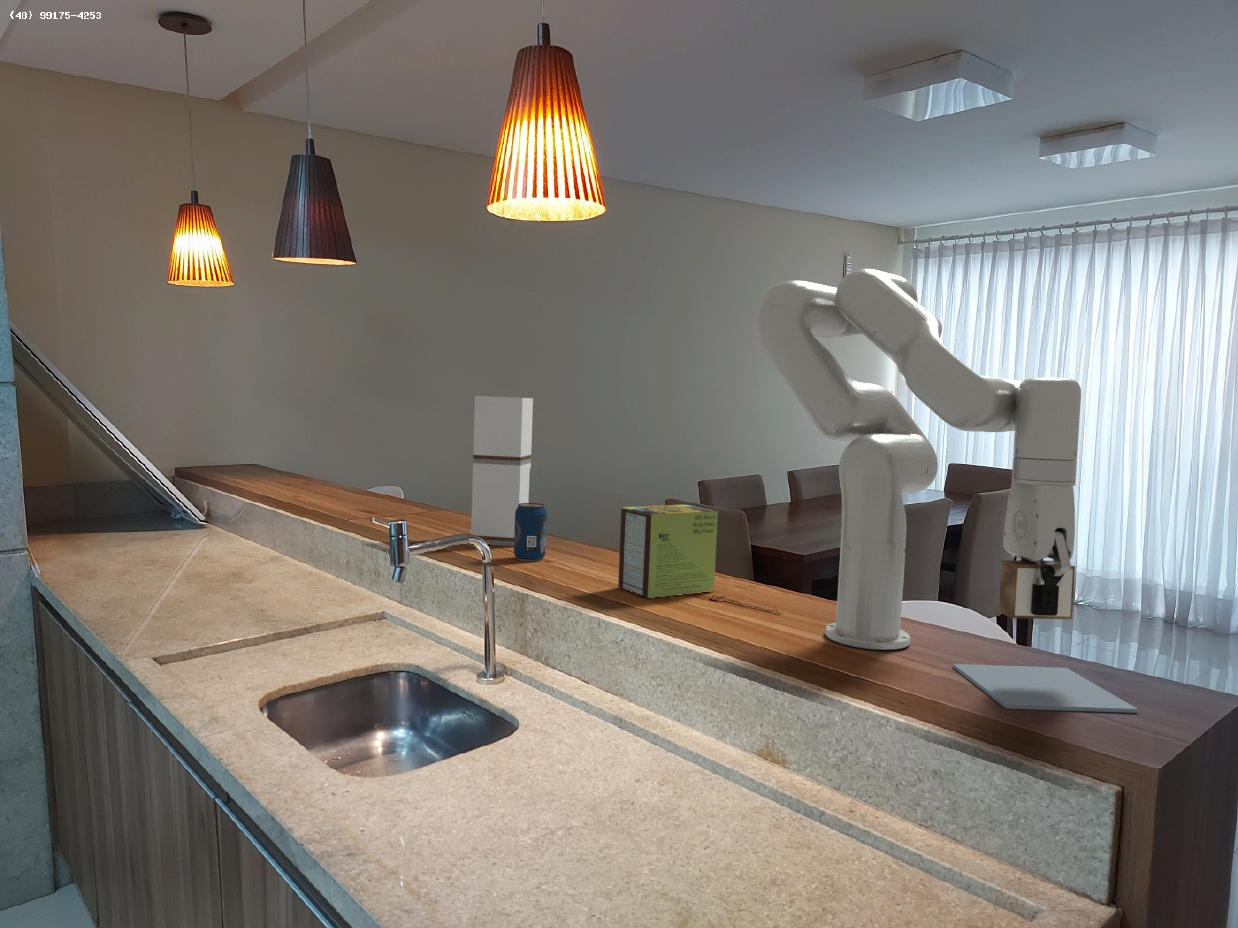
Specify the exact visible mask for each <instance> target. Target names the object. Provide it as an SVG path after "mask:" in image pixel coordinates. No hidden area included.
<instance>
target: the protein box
mask: <svg viewBox="0 0 1238 928" xmlns="http://www.w3.org/2000/svg"><path fill="white" fill-rule="evenodd" d="M620 509H621V510H620V533H619V536H620V537H619V564H618V585H617V586H618V587H617V588H619V587H620V588H619V589H621V588H623V589H627V590H629V591H632V592H634V593H637V594H638V595H637V594H636V595H637V596H639V595H640V596H639V597H643V598H644V597H646V598H645V599H647V598H651V599H656V598H655V597H661V598H667V597H666V596H671V595H678V594H687V593H693V592H694V593H695V592H696V593H697V592H703V591H711V590H714V591H715V578H716V577H715V575H716V555H717V552H716V551H717V536H718V535H717V534H718V515H719V511H718V510H715V509H709V508H703V507H701V506H700V507H698V506H694V505H690V504H667V505H665V504H664V505H661V504H660V505H645V506H644V505H642V506H641V505H640V506H624V507H621V508H620ZM623 589H622V590H623ZM629 591H628V592H629ZM634 593H633V594H634ZM671 597H672V596H671Z"/></svg>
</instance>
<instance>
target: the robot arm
mask: <svg viewBox="0 0 1238 928" xmlns="http://www.w3.org/2000/svg"><path fill="white" fill-rule="evenodd" d="M757 315H758V316H757V331H758V338H759V340H760V344H761V346H762V349H763V351H764V353H765V354H766V356H767V358H768V359H769V361H770V362H771V364H772V366H774V368H775V369H776V371H778V373H779V374H780V375H781V377H782V378H783V380H784V381H785V383H786V384H787V386H788V387H789V388H790V390H791V391H792V394H793V395H794V396H795V398H796V399H797V401H798V402H799V404H800V405H801V407H802V409H803V410H804V411H805V413H806V415H808V417H809V418H810V420H811V421H812V423H813V424H814V425H815V427H816V429H817V430H818V432H819V433H820V434H821V435H822V436H824V437H825V438H828V439H829V440H832V441H841V442H850V443H849V444H847V446H846V447H845V448H844V450H843V451H842V453H841V456H840V459H839V463H838V477H839V486H840V495H841V530H840V549H839V550H840V552H839V553H840V554H839V567H838V569H839V570H838V581H837V582H838V586H837V599H836V616H835V617H836V619H835V621H836V622H832V623H831V622H830V623H829V624H827V625H826V626H825V628H824V629H825V631H824V633H825V636H826V637H827V639H830V640H831V641H833V642H836V643H838V644H841V645H845V646H849V647H853V648H860V649H865V650H877V651H878V650H879V651H886V650H887V651H891V650H899V649H900V650H901V649H904V648H907V647H908V646H910V644H911V635H910V634H909V633H908V632H906V631H905V630H903V629H901V624H902V623H901V621H902V606H903V605H902V604H903V592H904V591H903V590H904V578H905V577H904V576H905V563H906V562H905V560H906V549H907V548H906V546H907V545H906V544H907V541H906V540H907V514H906V509H905V505H904V499H903V495H913V494H916V493H919V492H923V490H924V491H925V490H926V489H927V488H929V487H930V486H931V485H932V483H933V482H934V480H935V478H936V476H937V474H938V466H939V465H938V457H937V453H936V451H935V449H934V446H933V445H932V444H931V442H930V440H929V439H928V438H927V436H926V435H925V434H924V432H923V431H922V430H921V428H920V427H919V425H918V424H917V423H916V421H915V420H914V419H913V418H912V417H911V415H910V413H909V412H908V411H907V410H906V409H905V407H904V406H903V405H902V404H901V402H900V401H899V399H897V397H896V396H895V395H894V394H893V393H892V392H891V391H889V390H888V389H886V388H885V387H883V386H882V385H880V384H879V385H878V384H876V383H871V382H870V383H869V382H860V381H856V380H854V379H853V378H852V377H850V375H848V373H846V371H845V370H844V368H843V367H842V366H841V365H840V364H839V361H837V359H836V357H835V356H834V355H833V354H832V353H831V351H830V350H829V349H828V348H827V347H826V346H824V344H822V342H821V341H820V340H818V339H817V338H816V337H819V338H826V339H827V338H835V339H836V338H845V337H852V336H857V335H863V336H865V338H867V339H868V341H870V342H871V343H873V344H874V345H875V346H876V348H878V349H879V350H880V351H881V352H882V353H883V354H885V355H886V356H887V357H888V358H889V359H890V360H891V361H893V363H894V364H895V365H896V367H897V370H898V372H899V373H898V374H900V376H901V377H902V379H903V382H904V383H905V385H906V387H908V389H909V390H910V391H911V392H912V394H913V395H915V397H916V398H918V400H920V401H921V403H922V404H924V405H925V406H926V407H927V408H929V410H931V411H932V412H933V413H934V414H935V415H936V416H937V417H938V418H940V419H941V420H942V421H943V422H945V423H946V424H948V425H949V426H951V427H952V428H954V429H957V430H960V431H962V432H963V431H964V432H973V433H974V432H975V433H976V432H983V433H1004V432H1005V433H1006V432H1014V434H1013V435H1014V436H1013V438H1014V439H1013V457H1012V470H1011V471H1012V473H1011V485H1010V488H1009V494H1008V497H1007V498H1008V499H1007V503H1006V511H1005V522H1004V529H1003V537H1002V538H1003V540H1002V547H1003V548H1004V550H1005V552H1007V553H1008V554H1010V555H1011V556H1012V558H1013V560H1014V561H1036V583H1037V584H1033V587H1032V603H1031V613H1032V614H1034V615H1043V616H1056V615H1057V612H1058V596H1059V586H1060V585H1061V583H1062V577H1063V576H1064V574H1065V573H1066V572H1068V571H1069V570H1070V569H1071V565H1072V564H1071V559H1072V558H1073V554H1074V549H1075V537H1076V536H1075V535H1076V531H1075V530H1076V511H1075V510H1076V509H1075V507H1076V506H1075V493H1074V487H1075V486H1076V485H1077V484H1076V480H1077V469H1078V468H1077V467H1078V466H1077V464H1078V452H1079V451H1078V449H1079V448H1078V447H1079V432H1080V417H1081V402H1082V400H1081V399H1082V389H1081V385H1080V383H1079V382H1078V381H1076V380H1074V379H1072V378H1071V379H1070V378H1065V377H1063V378H1062V377H1034V378H1033V377H1031V378H1027V379H1023V380H1019V379H1017V380H1016V379H1010V378H1003V377H996V376H987V375H981V374H980V375H979V374H977V373H976V372H975V371H973V370H972V369H971V368H970V367H969V366H968V365H966V364H965V363H964V362H962V361H961V360H960V359H959V358H958V357H957V356H955V355H954V354H953V353H952V351H950V350H949V349H948V348H947V347H946V346H945V345H944V343H943V342H942V341H941V335H942V332H943V325H942V323H941V321H940V319H939V318H938V317H936V316H935V315H934V314H932V313H931V312H930V311H929V310H927V308H925V306H923V305H921V304H920V303H919V301H918V293H917V291H916V289H915V287H914V286H913V285H912V283H911V282H909V281H908V280H907V279H906V278H904V277H903V276H900V275H897V274H893V273H890V272H889V273H888V272H885V271H882V270H878V269H873V268H862V269H861V268H860V269H856V270H854V271H851V272H849V273H848V274H847V275H845V276H844V277H843V278H841V280H840V282H839V284H838V285H837V286H829V285H826V284H821V283H816V282H812V281H806V280H800V279H799V280H797V279H793V280H785V281H780V282H779V283H776V284H775V285H773V286H771V287H770V288H769V289H768V290H767V291H766V293H765V294H764V296H763V298H762V300H761V303H760V306H759V309H758V313H757ZM1047 558H1048V559H1050V560H1044V559H1047ZM1044 565H1052V567H1048V568H1047V569H1046V571H1045V572H1044Z"/></svg>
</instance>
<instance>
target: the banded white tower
mask: <svg viewBox="0 0 1238 928" xmlns="http://www.w3.org/2000/svg"><path fill="white" fill-rule="evenodd" d="M533 408H534V398H532V397H511V396H491V395H490V396H488V395H486V396H484V395H474V413H473V414H474V417H473V418H474V420H473V424H474V425H473V450H472V451H473V454H472V456H473V457H472V483H471V484H472V487H471V488H472V489H471V490H472V491H471V498H472V499H471V519H470V520H471V522H470V523H471V524H470V526H471V527H470V536H471V535H476V536H478V537H480V538H482V539H483V540H484V541H485V542H487V543H489V544H490V545H489V546H500V547H501V546H502V547H514V530H515V511H516V509H517V507H518V504H519V503H530V502H529V499H530V498H529V494H530V493H529V492H530V470H531V469H532V466H531V465H532V446H533V445H532V444H533V443H532V441H533V411H534V410H533Z"/></svg>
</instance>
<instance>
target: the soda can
mask: <svg viewBox="0 0 1238 928" xmlns="http://www.w3.org/2000/svg"><path fill="white" fill-rule="evenodd" d="M547 522H548V512H547V510H546V506H545V504H544V503H539V502H529V503H519V504H518V507H517V509H516V511H515V530H514V546H513V555H514V556H515V558H516V560H517V561H522V562H540V561H542V560H543V559H544V557H545V555H546V554H547V553H546V552H547V528H548V527H547V524H548V523H547Z"/></svg>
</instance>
